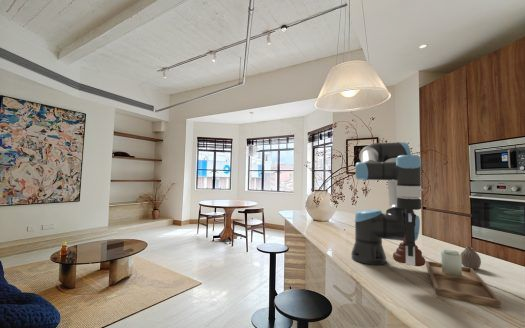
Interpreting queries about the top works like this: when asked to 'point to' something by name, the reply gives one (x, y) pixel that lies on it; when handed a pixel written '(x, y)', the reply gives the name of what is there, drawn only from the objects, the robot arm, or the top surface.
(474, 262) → the vase
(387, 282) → the top surface
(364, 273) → the top surface
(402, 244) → the poop emoji
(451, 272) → the jar
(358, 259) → the robot arm
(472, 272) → the divided wooden tray
